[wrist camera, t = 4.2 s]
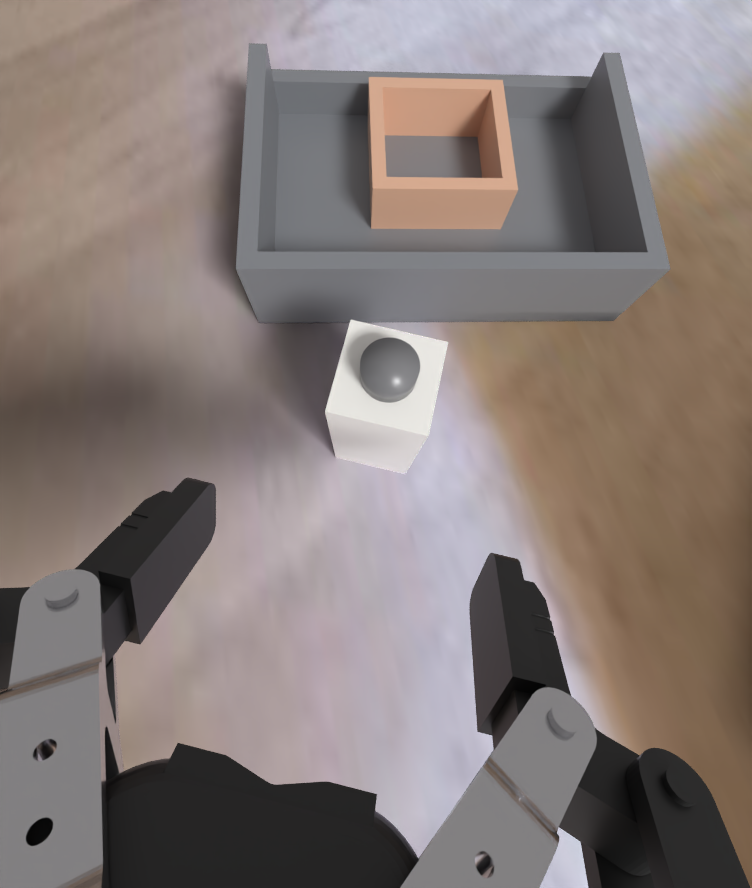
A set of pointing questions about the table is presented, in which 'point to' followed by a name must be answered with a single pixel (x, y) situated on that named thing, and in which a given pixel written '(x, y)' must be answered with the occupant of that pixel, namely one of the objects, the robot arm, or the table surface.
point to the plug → (384, 395)
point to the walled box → (443, 196)
